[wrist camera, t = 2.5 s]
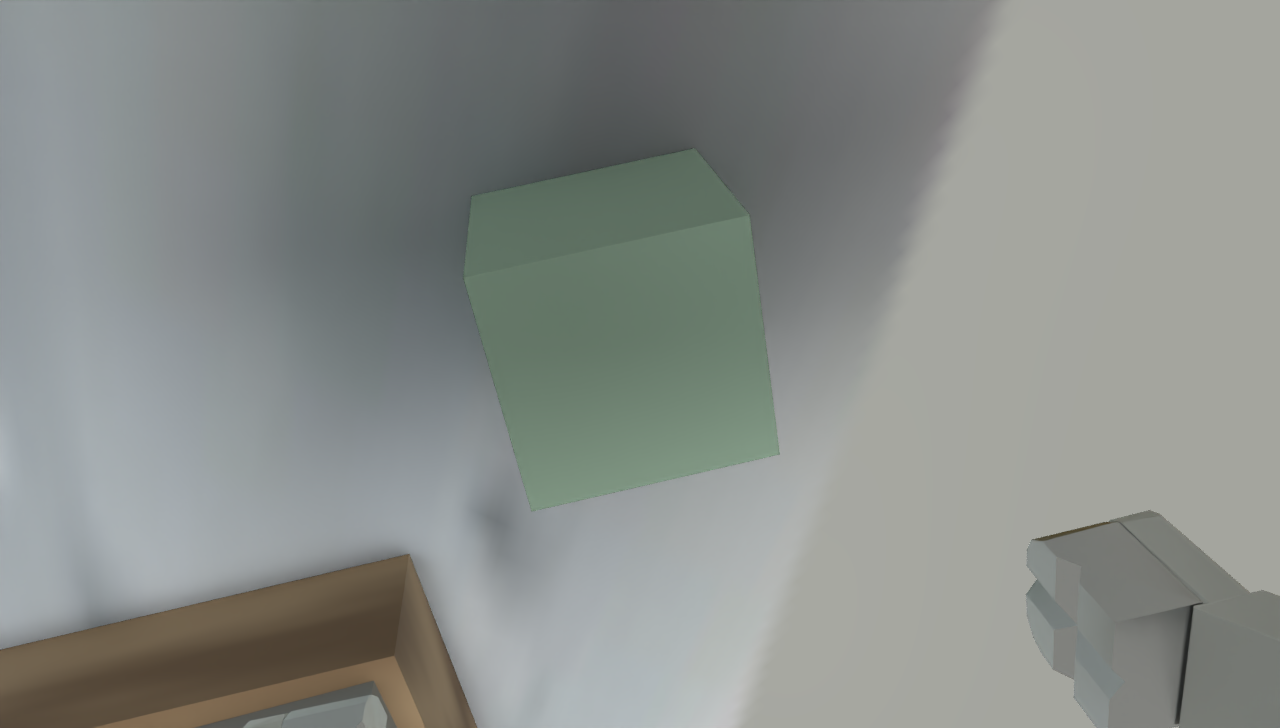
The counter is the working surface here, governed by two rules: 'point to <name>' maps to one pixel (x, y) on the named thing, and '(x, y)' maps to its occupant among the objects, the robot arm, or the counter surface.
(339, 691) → the slate slab
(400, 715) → the walnut slab
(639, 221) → the sage cube
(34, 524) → the counter surface
